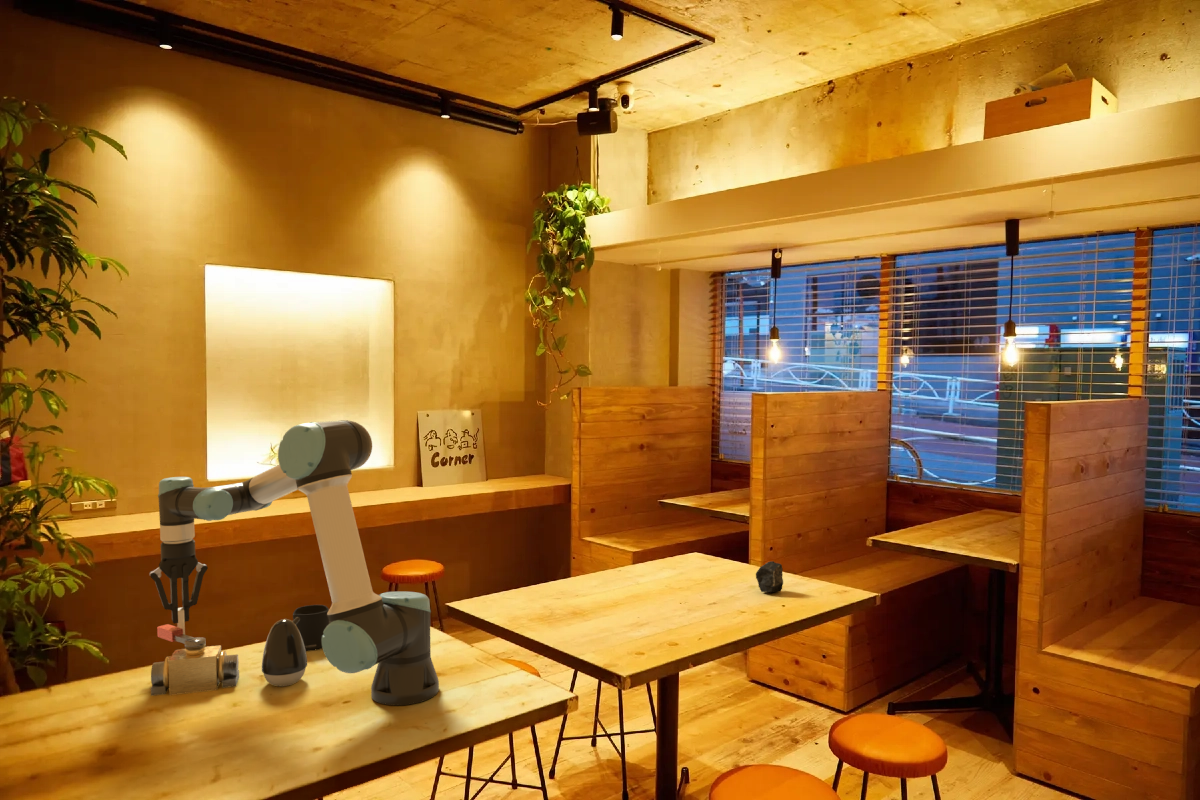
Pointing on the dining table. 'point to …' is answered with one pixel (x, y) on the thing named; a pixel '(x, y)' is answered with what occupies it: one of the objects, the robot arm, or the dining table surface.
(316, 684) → the dining table surface
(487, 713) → the dining table surface
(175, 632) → the lever
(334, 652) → the robot arm
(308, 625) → the pen holder
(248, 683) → the dining table surface
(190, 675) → the valve
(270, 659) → the black egg-shaped shaker
